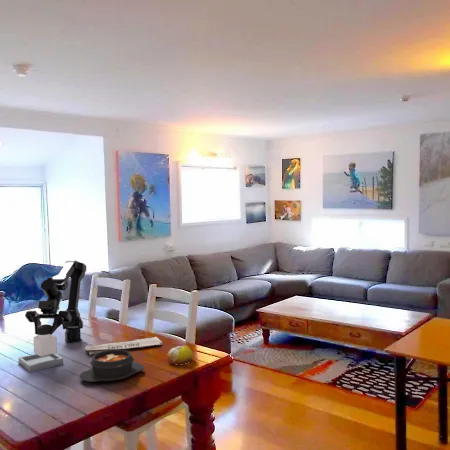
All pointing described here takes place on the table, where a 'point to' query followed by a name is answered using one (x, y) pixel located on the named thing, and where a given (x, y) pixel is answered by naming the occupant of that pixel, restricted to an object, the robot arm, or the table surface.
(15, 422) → the table surface
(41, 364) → the tray
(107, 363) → the casserole
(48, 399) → the table surface
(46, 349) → the medicine bottle
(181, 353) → the fruit
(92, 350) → the newspaper
